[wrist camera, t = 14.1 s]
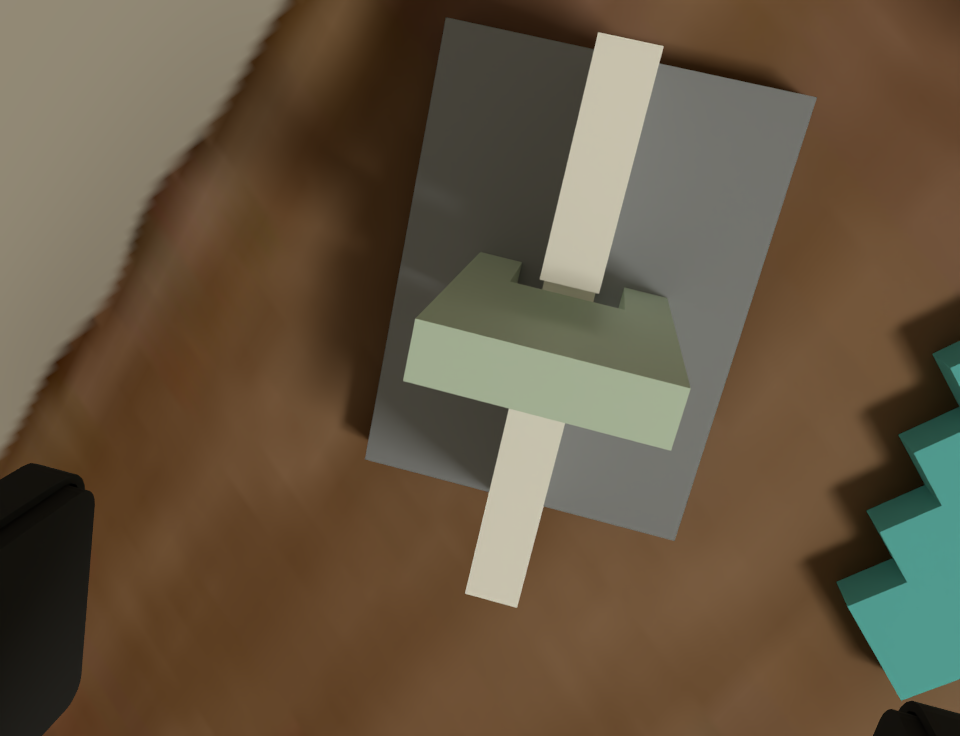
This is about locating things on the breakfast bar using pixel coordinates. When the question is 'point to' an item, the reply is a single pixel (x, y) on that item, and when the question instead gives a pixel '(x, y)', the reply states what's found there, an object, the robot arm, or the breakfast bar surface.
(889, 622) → the alien figure
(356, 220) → the breakfast bar surface
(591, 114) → the stand
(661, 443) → the green slotted plate
